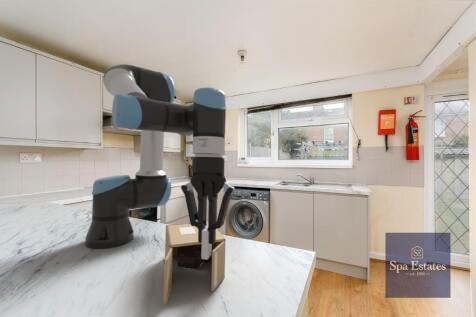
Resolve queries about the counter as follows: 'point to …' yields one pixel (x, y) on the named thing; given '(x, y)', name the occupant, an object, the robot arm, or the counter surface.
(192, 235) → the carton
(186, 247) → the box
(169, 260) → the flap near
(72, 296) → the counter surface
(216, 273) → the flap far
